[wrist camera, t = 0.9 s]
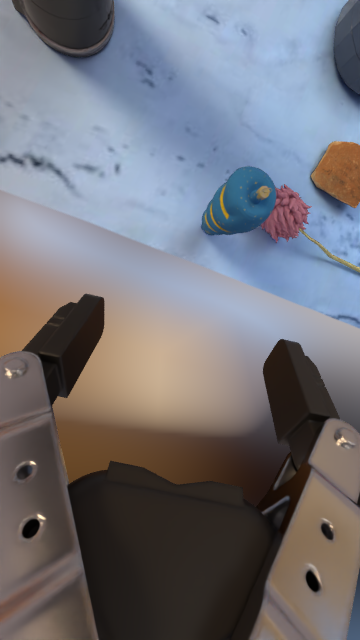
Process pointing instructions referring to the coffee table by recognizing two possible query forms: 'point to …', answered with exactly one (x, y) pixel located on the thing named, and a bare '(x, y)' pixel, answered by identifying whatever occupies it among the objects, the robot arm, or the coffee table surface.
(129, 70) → the coffee table surface
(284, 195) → the artificial flower
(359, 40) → the bowl
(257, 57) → the coffee table surface
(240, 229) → the ornament
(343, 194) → the pottery shard
